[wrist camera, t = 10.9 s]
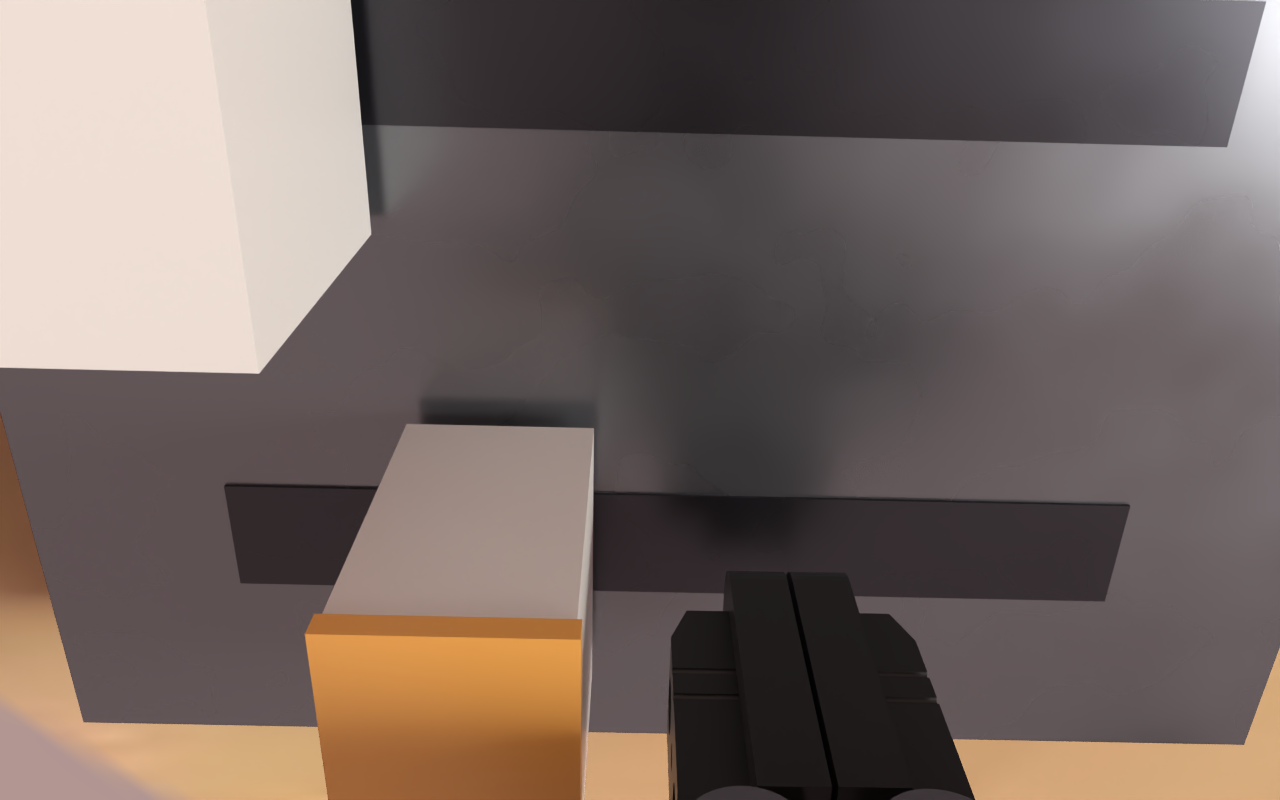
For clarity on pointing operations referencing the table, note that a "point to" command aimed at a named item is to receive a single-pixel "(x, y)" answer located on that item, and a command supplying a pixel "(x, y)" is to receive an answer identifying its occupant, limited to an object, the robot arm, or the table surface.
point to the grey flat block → (752, 355)
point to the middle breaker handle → (173, 179)
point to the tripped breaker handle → (463, 622)
